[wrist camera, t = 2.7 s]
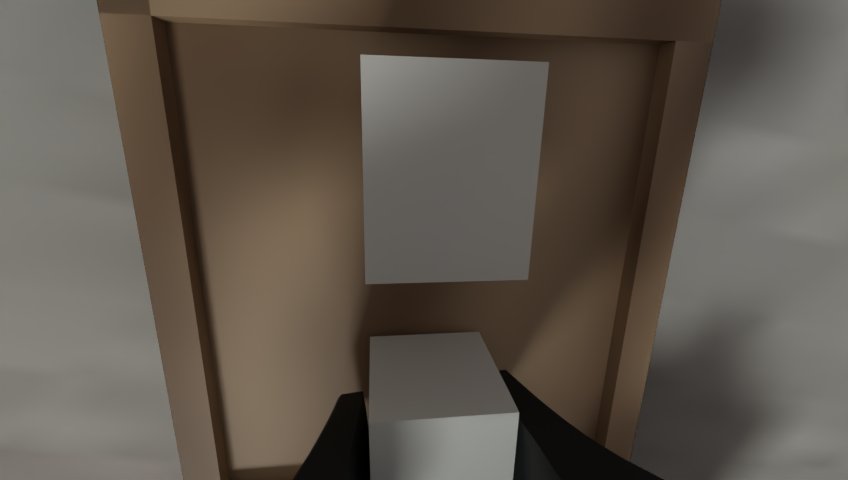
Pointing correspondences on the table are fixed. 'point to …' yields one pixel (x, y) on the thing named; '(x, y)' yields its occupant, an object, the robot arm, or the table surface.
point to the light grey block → (439, 410)
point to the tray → (344, 207)
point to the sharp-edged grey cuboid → (450, 167)
